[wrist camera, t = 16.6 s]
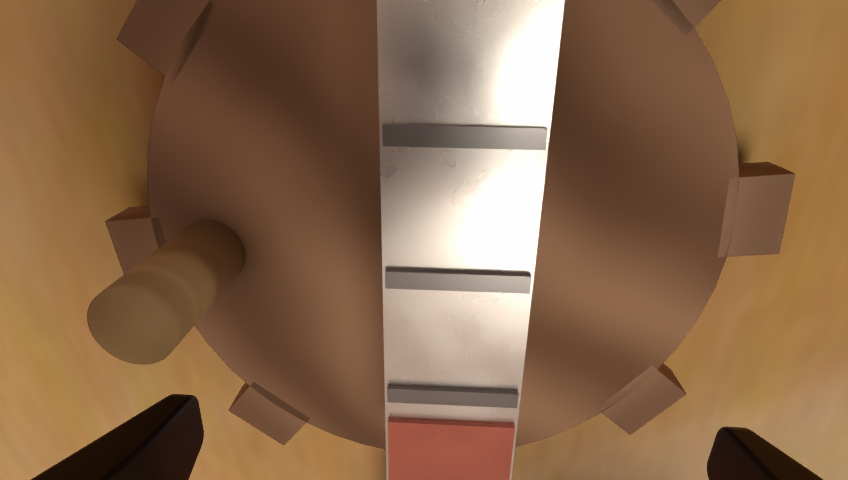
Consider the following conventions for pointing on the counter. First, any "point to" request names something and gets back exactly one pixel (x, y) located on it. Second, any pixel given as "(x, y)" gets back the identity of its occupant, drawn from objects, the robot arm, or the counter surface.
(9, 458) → the counter surface
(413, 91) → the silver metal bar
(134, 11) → the flat round disc
